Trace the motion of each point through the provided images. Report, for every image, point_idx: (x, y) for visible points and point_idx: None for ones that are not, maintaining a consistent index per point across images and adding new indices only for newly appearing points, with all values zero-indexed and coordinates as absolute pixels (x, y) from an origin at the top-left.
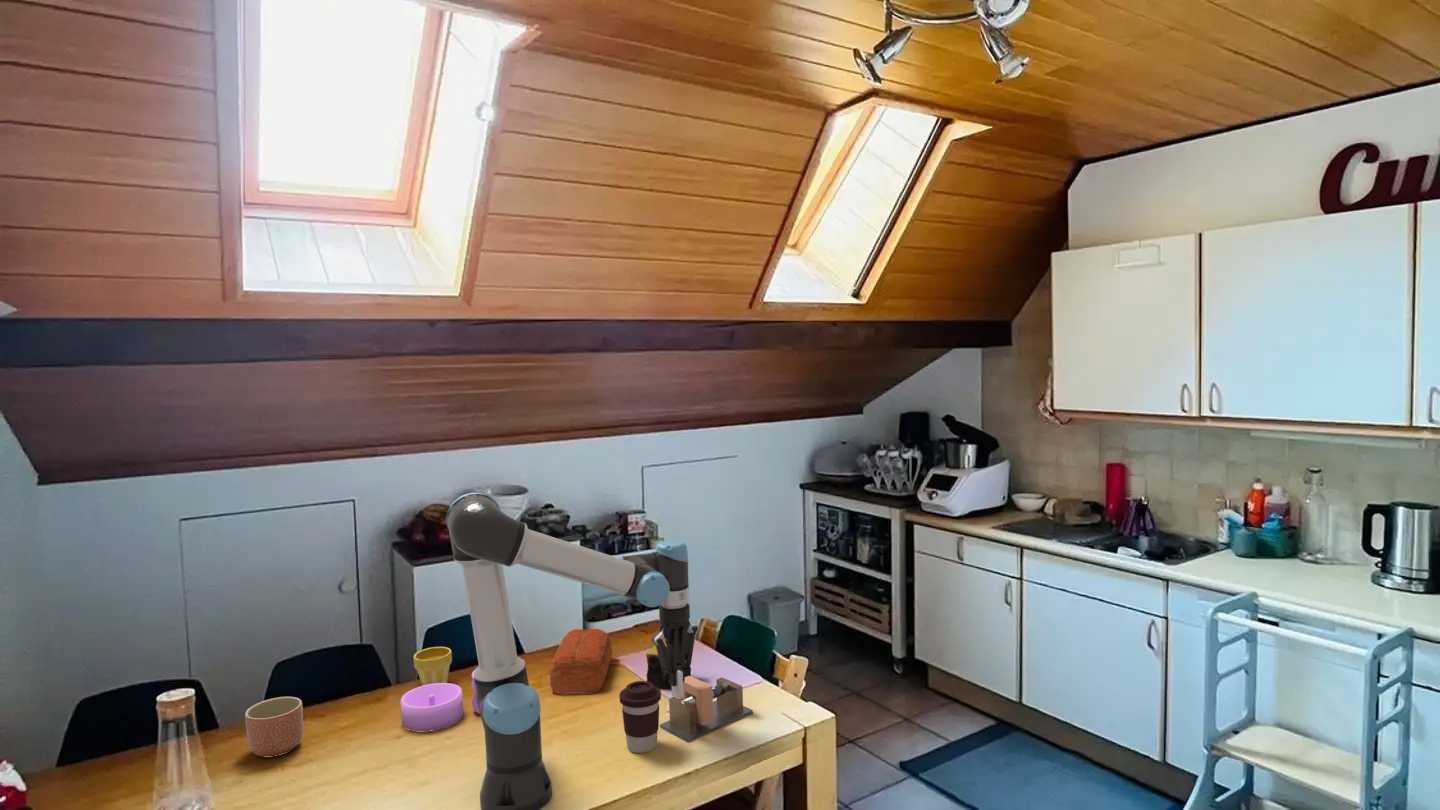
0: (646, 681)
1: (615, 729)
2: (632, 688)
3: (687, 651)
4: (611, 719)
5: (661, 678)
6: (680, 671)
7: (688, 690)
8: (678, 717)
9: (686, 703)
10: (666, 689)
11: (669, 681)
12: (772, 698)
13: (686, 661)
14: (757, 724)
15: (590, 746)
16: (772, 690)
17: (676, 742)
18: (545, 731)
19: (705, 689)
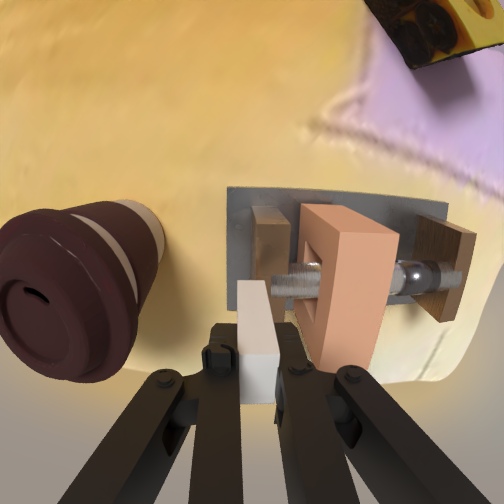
0: (68, 309)
1: (129, 107)
2: (13, 289)
3: (368, 469)
4: (160, 50)
5: (397, 14)
6: (271, 393)
7: (322, 288)
8: (252, 259)
9: (274, 305)
10: (390, 36)
11: (210, 334)
12: (481, 275)
13: (336, 420)
14: (390, 340)
15: (46, 150)
16: (501, 249)
17: (206, 285)
18: (36, 33)
19: (334, 371)
